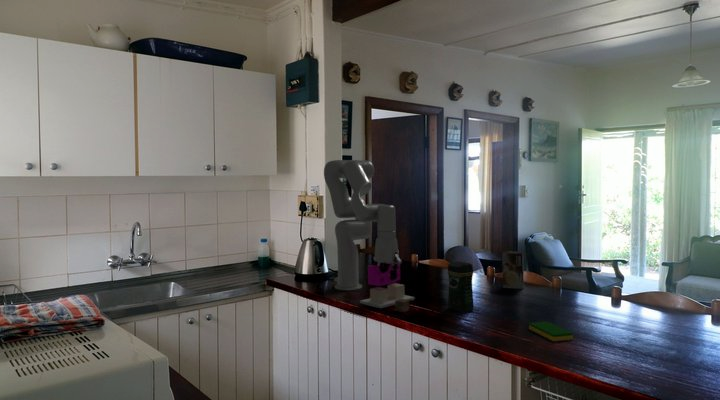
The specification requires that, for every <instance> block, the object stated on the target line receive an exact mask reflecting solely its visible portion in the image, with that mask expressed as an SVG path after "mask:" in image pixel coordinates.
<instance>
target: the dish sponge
mask: <svg viewBox="0 0 720 400" xmlns="http://www.w3.org/2000/svg"><path fill="white" fill-rule="evenodd" d="M528 329H529V330H530V331H532V332H534V333H536V334H538V335H540V336H542V337H544V338H546V339H548V340H550V341H552V342H559V341H560V342H561V341H570V340H571V341H572V340H573V339H574V337H573V332H571V331H569V330H567V329H565V328H563V327H560V326H558V325H556V324H554V323H551V322H549V321H538V322H529V323H528Z"/></svg>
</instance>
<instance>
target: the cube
mask: <svg viewBox="0 0 720 400" xmlns="http://www.w3.org/2000/svg"><path fill="white" fill-rule="evenodd" d="M394 311H395V312H399V313H400V312H401V313H405V312H408V311H410V301H409V300H406V299H398V300H396V301H395V305H394Z"/></svg>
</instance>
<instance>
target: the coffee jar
mask: <svg viewBox="0 0 720 400" xmlns="http://www.w3.org/2000/svg"><path fill="white" fill-rule="evenodd" d="M447 274H448V275H447V276H448V299H447V308H448V309H450V310H453V311H456V312H466V313H467V312H471V311H473V310H474V296H473V294H474V292H473V276H474V266H473V264H472V263H470V262H465V261H460V260H459V261H458V260H454V261H449V263H448V266H447Z"/></svg>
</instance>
